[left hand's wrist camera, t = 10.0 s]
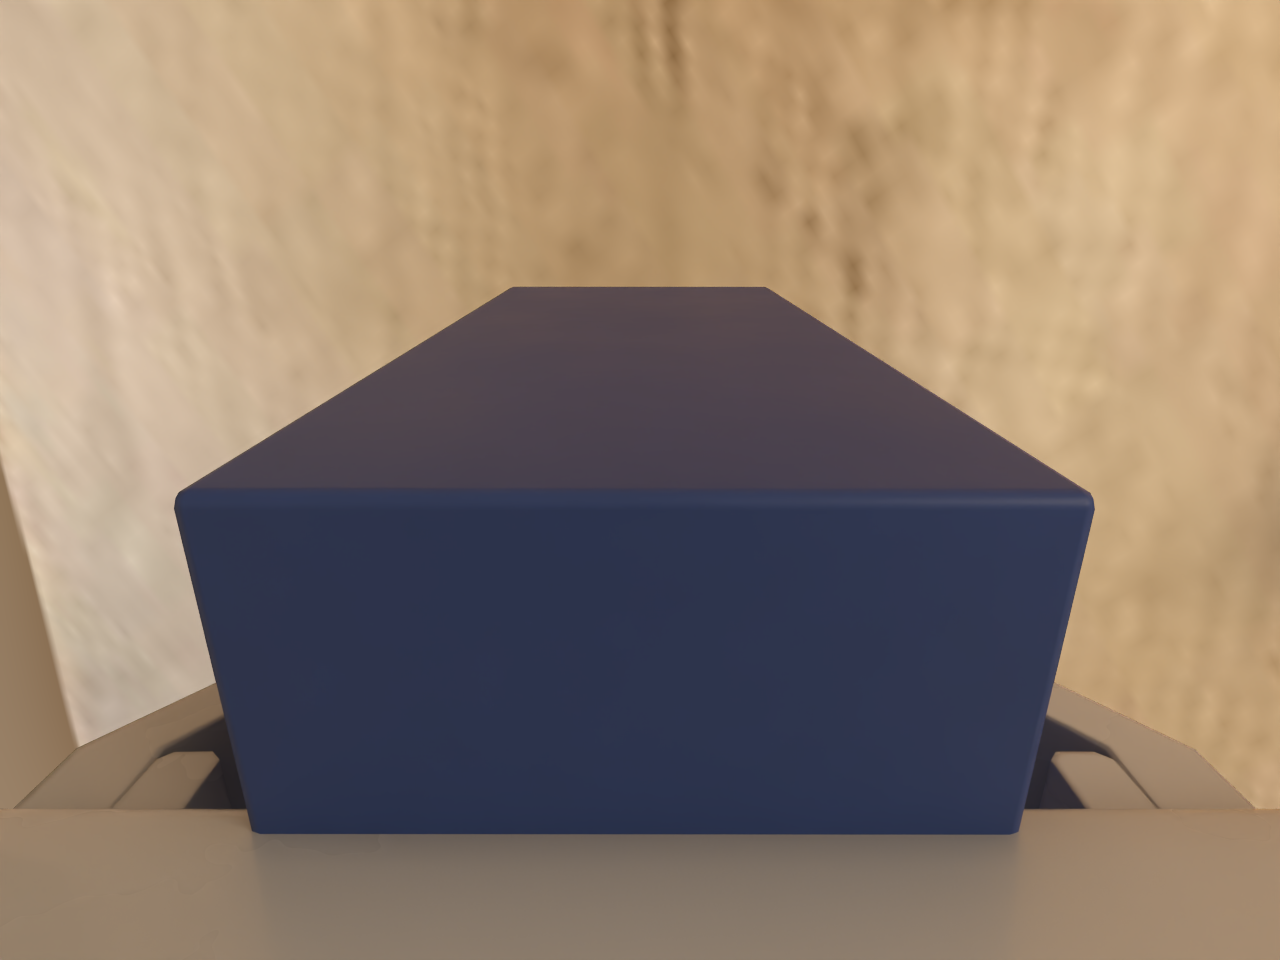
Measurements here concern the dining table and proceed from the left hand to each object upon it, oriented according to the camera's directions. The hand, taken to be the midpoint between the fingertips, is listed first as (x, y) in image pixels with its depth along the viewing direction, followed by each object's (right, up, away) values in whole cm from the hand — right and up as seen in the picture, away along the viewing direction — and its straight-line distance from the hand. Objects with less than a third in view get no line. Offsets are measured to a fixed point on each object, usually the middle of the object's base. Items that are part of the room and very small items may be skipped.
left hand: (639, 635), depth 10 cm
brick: (0, +2, +6) cm, 6 cm away
